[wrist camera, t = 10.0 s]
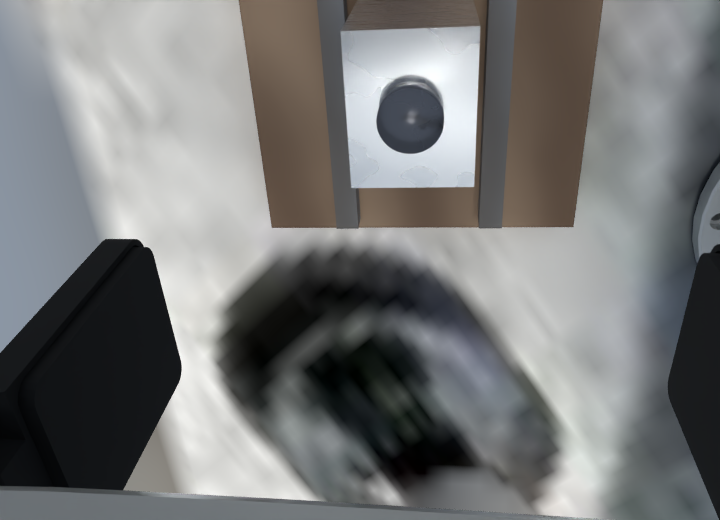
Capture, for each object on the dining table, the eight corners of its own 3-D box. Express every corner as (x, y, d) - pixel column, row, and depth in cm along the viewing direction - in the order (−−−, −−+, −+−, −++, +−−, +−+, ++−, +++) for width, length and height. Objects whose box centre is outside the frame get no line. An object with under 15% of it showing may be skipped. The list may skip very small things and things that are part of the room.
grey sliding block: (469, -14, 24) (482, 32, 18) (465, 116, 27) (475, 197, 20) (362, -10, 24) (336, 37, 18) (369, 118, 27) (348, 199, 21)
